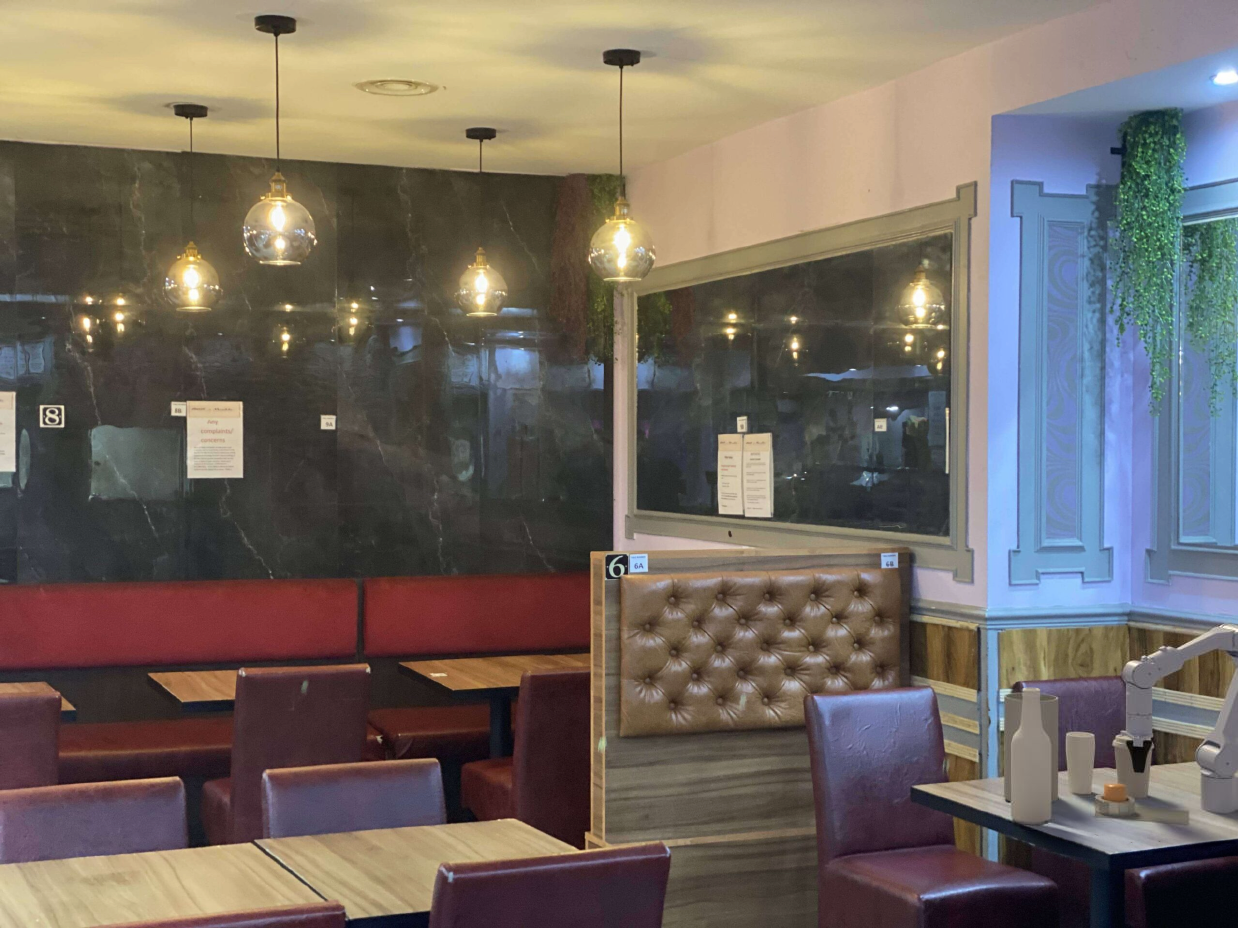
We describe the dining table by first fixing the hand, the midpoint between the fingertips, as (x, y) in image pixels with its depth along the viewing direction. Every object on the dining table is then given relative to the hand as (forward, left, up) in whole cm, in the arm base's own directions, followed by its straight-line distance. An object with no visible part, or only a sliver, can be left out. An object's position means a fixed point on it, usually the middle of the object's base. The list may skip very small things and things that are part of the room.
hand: (1139, 772), depth 332 cm
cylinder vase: (+8, -24, -10) cm, 27 cm away
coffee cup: (-13, -10, -10) cm, 19 cm away
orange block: (+5, -3, -9) cm, 11 cm away
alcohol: (+24, -12, -10) cm, 29 cm away
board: (+2, +2, -10) cm, 10 cm away
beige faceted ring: (+5, -3, -9) cm, 11 cm away
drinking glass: (-6, -20, -10) cm, 23 cm away
